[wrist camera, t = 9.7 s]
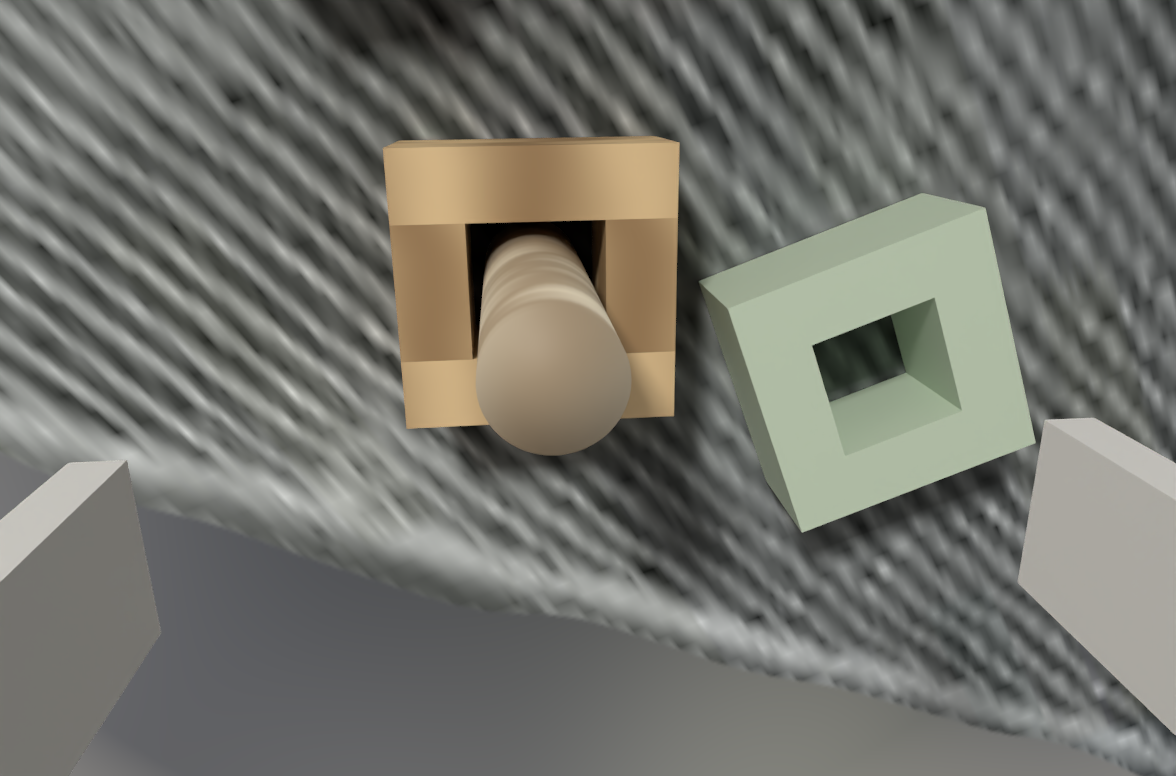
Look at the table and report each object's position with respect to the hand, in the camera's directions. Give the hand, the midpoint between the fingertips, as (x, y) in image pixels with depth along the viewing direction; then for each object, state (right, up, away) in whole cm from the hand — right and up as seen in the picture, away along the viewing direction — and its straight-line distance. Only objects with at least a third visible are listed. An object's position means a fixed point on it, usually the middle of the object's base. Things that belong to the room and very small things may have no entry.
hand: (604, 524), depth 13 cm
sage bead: (+10, +4, +22) cm, 24 cm away
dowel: (-2, +7, +20) cm, 21 cm away
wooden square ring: (-2, +7, +20) cm, 21 cm away
